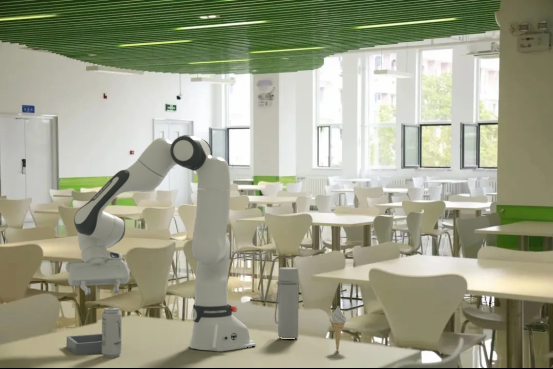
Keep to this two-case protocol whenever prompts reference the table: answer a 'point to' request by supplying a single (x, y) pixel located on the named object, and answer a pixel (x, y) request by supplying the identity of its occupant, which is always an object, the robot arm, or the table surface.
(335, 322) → the ice cream cone
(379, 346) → the table surface
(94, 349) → the gray tray
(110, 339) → the energy drink can
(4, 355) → the table surface
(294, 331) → the water bottle
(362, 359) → the table surface
